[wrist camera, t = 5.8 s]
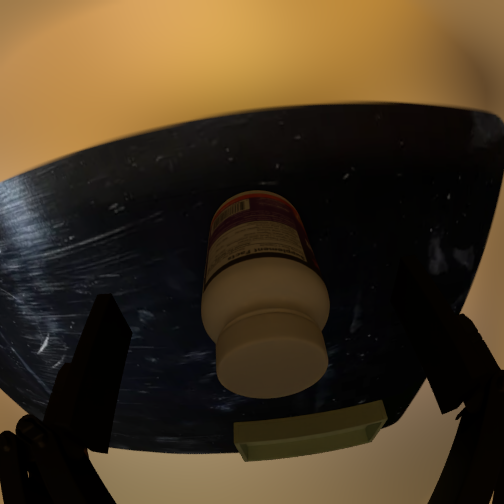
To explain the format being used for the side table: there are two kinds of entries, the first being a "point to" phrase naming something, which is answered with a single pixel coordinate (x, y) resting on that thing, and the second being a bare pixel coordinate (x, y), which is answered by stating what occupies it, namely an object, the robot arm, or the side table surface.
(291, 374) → the pill bottle
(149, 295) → the side table surface
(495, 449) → the robot arm
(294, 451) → the tray
